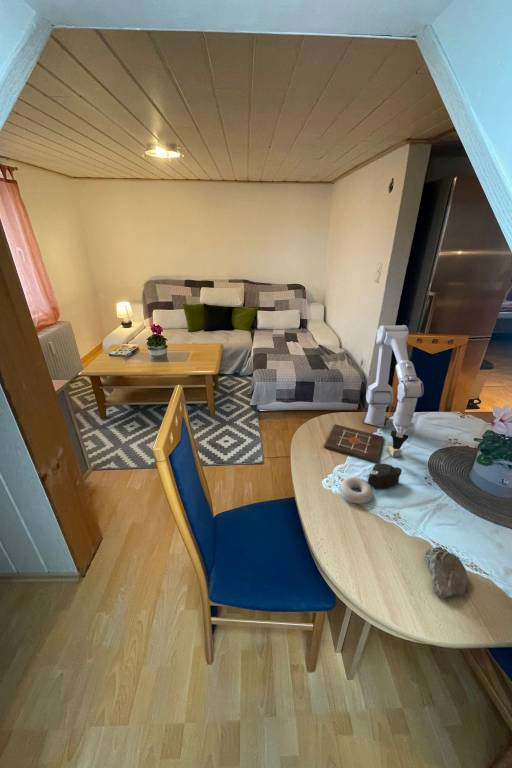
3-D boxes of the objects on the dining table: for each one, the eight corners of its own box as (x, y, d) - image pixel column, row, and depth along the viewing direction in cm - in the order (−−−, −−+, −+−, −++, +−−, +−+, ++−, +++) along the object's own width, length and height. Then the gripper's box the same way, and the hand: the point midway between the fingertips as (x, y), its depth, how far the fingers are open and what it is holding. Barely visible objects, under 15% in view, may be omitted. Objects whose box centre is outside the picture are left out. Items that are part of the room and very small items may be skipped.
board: (334, 426, 132) (335, 424, 131) (383, 438, 123) (383, 436, 123) (324, 447, 119) (324, 444, 119) (377, 463, 111) (378, 460, 110)
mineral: (394, 498, 96) (397, 485, 94) (365, 487, 101) (367, 474, 98) (399, 479, 104) (403, 466, 101) (372, 469, 108) (375, 456, 106)
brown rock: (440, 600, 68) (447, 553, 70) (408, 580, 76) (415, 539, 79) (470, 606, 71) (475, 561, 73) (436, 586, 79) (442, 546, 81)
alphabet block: (392, 457, 114) (393, 450, 112) (388, 451, 116) (389, 445, 115) (400, 456, 114) (401, 450, 112) (396, 451, 117) (397, 445, 115)
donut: (343, 479, 104) (336, 499, 96) (344, 471, 103) (338, 491, 95) (373, 488, 100) (369, 510, 92) (375, 480, 99) (371, 502, 91)
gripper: (416, 425, 99) (407, 457, 105) (418, 404, 110) (410, 434, 116) (393, 419, 102) (386, 451, 108) (397, 400, 113) (390, 430, 119)
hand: (397, 442), depth 112 cm, fingers open, 7 cm apart
